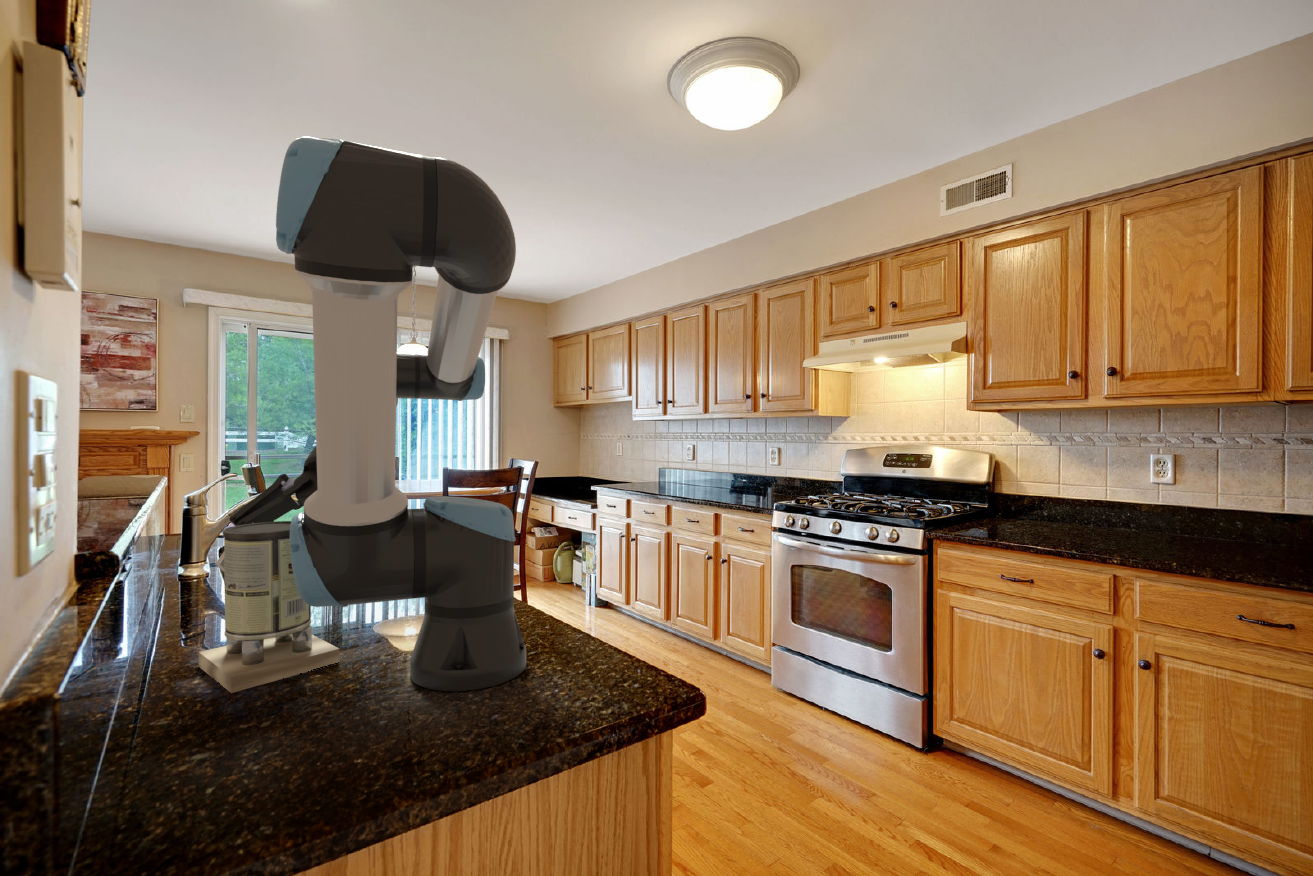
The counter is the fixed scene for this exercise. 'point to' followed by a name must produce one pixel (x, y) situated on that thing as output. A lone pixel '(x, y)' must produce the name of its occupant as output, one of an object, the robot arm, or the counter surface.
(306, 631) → the peg set
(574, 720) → the counter surface
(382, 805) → the counter surface
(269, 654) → the stand plate
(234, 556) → the coffee can
